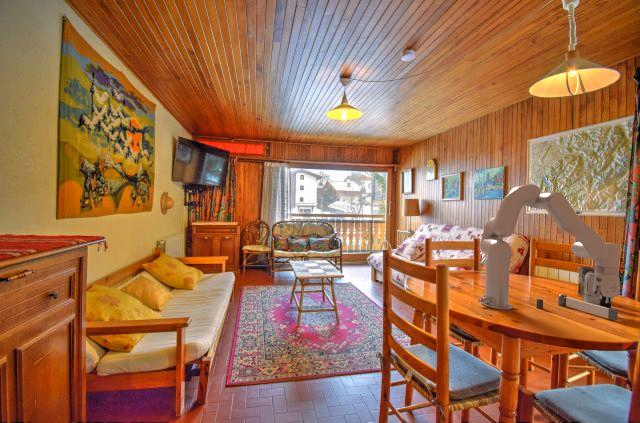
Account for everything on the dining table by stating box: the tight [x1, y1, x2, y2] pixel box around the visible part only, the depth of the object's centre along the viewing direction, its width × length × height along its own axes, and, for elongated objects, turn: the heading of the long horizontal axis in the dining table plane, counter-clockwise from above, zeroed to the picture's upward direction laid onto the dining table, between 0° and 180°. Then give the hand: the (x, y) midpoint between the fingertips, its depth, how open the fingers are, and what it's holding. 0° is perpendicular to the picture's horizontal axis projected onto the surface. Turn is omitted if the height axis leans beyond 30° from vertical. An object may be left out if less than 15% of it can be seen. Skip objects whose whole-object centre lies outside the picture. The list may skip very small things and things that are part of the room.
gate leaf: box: [566, 297, 619, 321], centre depth 126 cm, size 2×18×4 cm, turn 17°
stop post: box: [536, 298, 544, 310], centre depth 132 cm, size 2×2×4 cm
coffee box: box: [577, 266, 595, 299], centre depth 148 cm, size 9×6×16 cm
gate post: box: [557, 293, 567, 307], centre depth 136 cm, size 3×3×5 cm
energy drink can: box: [583, 272, 600, 306], centre depth 140 cm, size 6×6×15 cm
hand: (605, 311), depth 126 cm, fingers closed
